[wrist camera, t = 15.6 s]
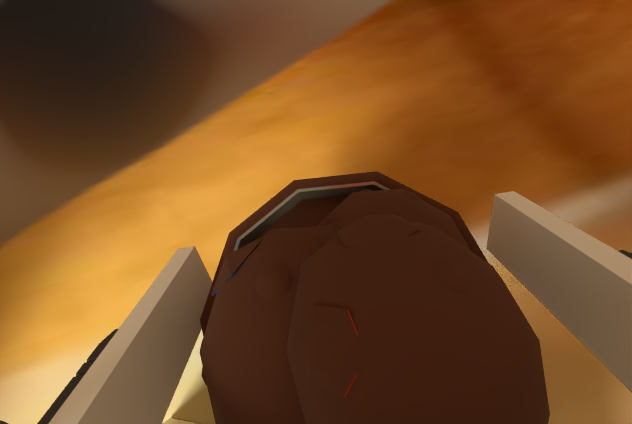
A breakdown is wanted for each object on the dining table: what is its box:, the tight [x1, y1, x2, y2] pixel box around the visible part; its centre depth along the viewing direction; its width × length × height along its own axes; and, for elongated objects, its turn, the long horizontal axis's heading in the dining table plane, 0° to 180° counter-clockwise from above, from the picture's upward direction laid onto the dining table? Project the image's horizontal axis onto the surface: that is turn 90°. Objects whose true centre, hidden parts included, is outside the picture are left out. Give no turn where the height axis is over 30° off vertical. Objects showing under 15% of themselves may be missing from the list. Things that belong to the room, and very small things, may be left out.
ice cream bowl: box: [200, 171, 550, 424], centre depth 11 cm, size 11×11×15 cm
